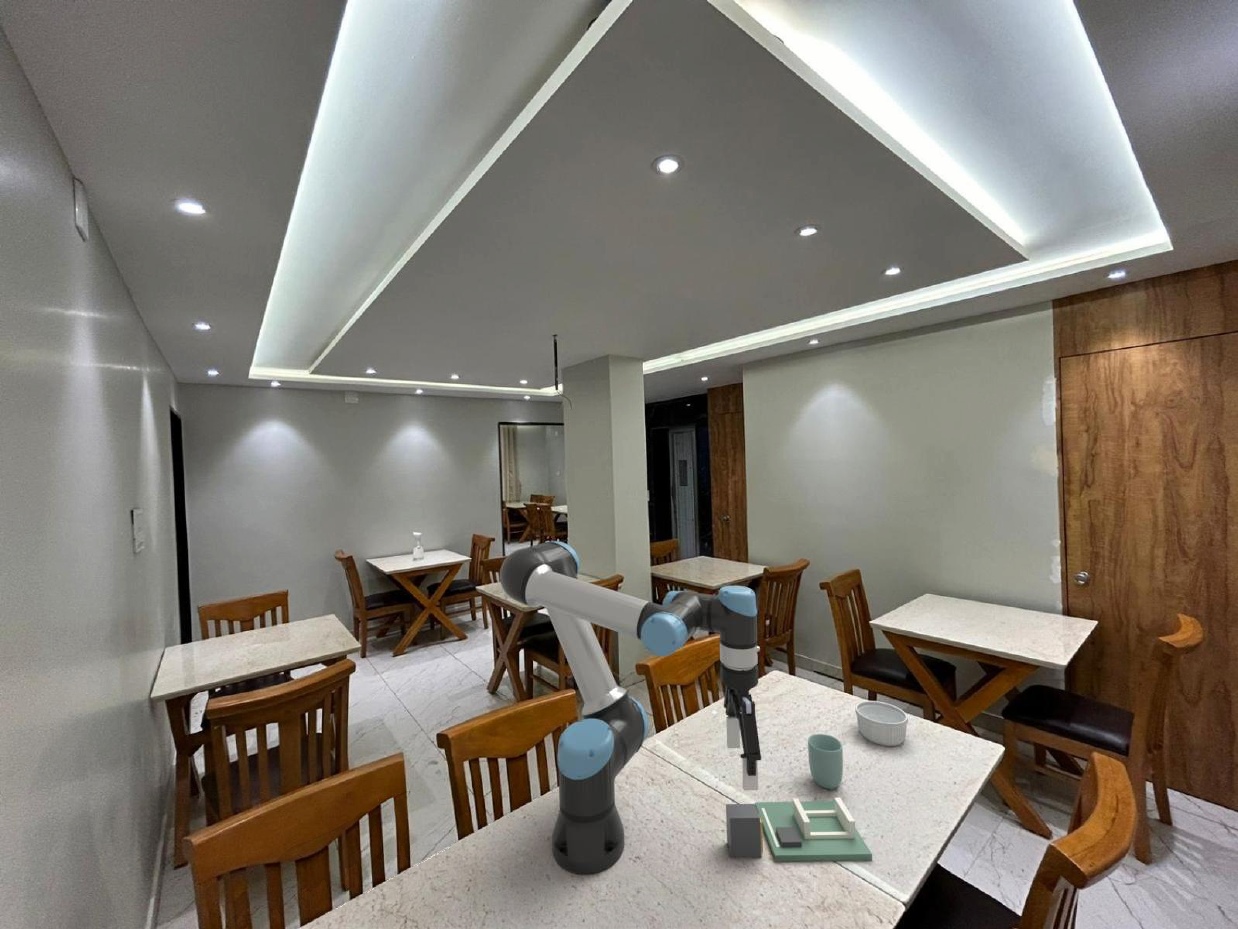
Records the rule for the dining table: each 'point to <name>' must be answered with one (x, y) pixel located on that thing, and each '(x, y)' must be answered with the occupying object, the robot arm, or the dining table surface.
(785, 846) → the board
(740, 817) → the plug
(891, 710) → the ramekin
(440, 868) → the dining table surface
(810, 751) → the cup
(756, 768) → the robot arm
